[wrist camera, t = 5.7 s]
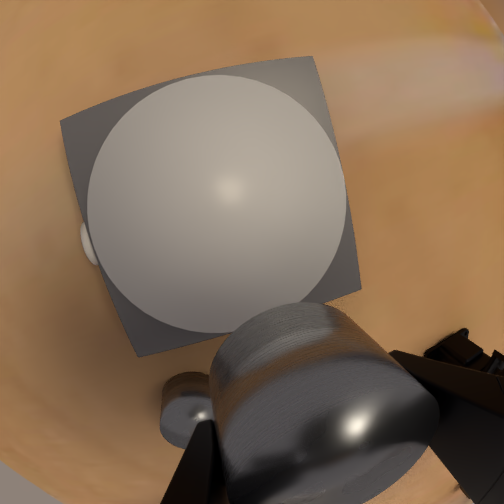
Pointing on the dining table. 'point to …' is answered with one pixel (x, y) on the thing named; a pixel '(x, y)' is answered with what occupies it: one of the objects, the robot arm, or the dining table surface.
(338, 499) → the cylinder
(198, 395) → the cylinder
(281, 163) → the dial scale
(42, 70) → the dining table surface
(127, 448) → the dining table surface
